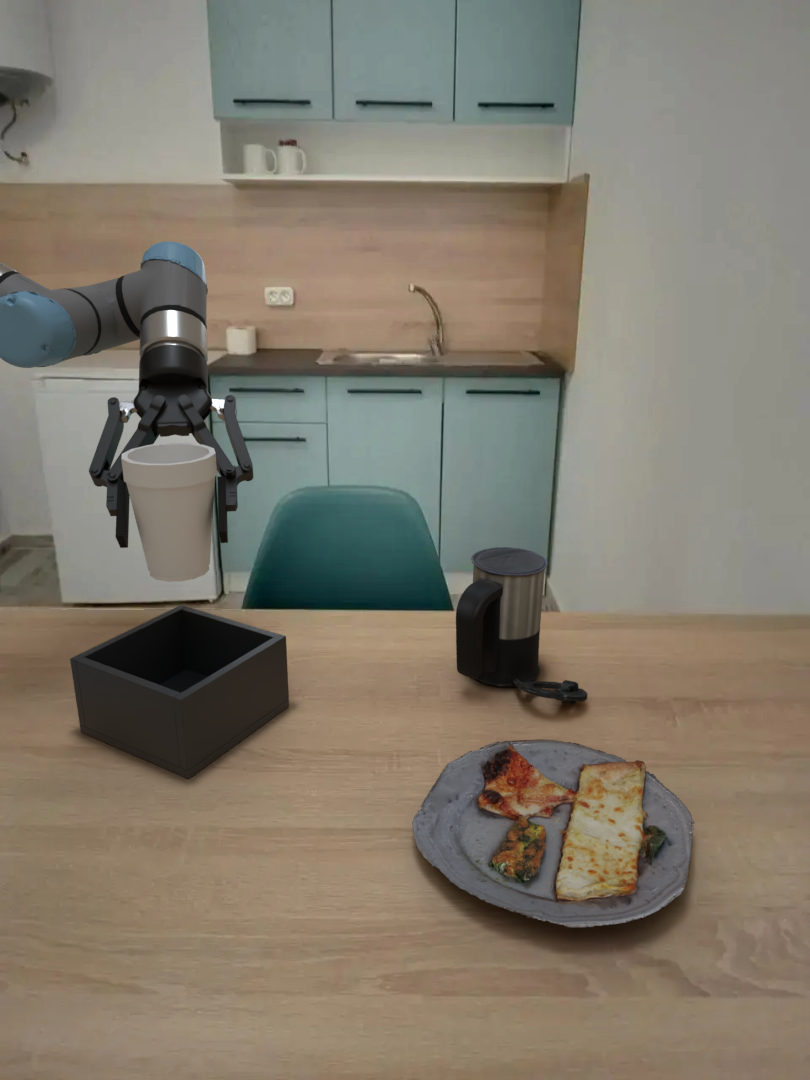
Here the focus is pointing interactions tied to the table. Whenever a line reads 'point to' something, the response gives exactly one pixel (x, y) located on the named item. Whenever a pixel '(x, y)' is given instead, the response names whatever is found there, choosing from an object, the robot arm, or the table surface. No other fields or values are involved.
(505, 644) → the milk frother
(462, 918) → the table surface
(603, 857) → the food plate
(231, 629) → the black storage bin
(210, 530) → the foam cup
